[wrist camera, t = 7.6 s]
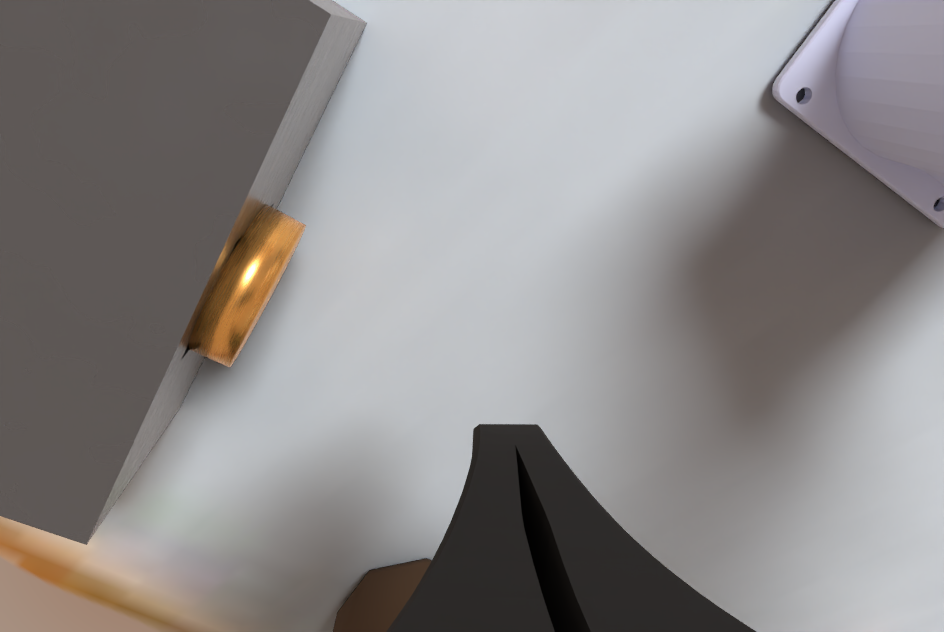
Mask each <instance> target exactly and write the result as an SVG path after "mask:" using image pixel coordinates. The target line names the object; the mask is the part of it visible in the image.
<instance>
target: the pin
mask: <svg viewBox="0 0 944 632" xmlns="http://www.w3.org/2000/svg"><path fill="white" fill-rule="evenodd" d="M305 227H306V225H304V224H303V223H301V222H299V221H297V220H295V219H293V218H291V217H289V216H287V215H286V214H284V213H282V212H280V211H278V210H276V209H274V208H272V207H271V206H269V205H267V206H265V207H264V208H263V209H262V210H261V211H260V212H259V214H258V215H257V216H256V217H255V219H254V220H253V221H252V223H251V224H250V226H249V227H248V229H247V230H246V232H245V233H244V235H243V236H242V237H241V238H240V239H239V240H238V241H237V242H236V244H235V246H234V248H233V250H232V252H231V254H230V257H229V259H228V261H227V263H226V265H225V267H224V268H223V270H222V272H221V274H220V276H219V278H218V279H217V281H216V283H215V285H214V287H213V289H212V291H211V293H210V295H209V297H208V299H207V301H206V303H205V305H204V307H203V309H202V311H201V313H200V316H199V318H198V320H197V322H196V325H195V327H194V330H193V332H192V335H191V338H190V341H189V347H188V348H189V350H191V351H194V352H196V353H198V354H200V355H203V356H205V357H207V358H209V359H212V360H214V361H216V362H218V363H221V364H223V365H225V366H228V367H231V365H232V364H233V363H234V361H235V360H236V358H237V356H238V355H239V353H240V351H241V350H242V348H243V346H244V345H245V343H246V341H247V339H248V338H249V336H250V334H251V332H252V331H253V329H254V327H255V325H256V323H257V322H258V320H259V318H260V316H261V314H262V313H263V311H264V309H265V307H266V305H267V303H268V302H269V300H270V298H271V296H272V294H273V292H274V290H275V288H276V287H277V285H278V283H279V281H280V279H281V277H282V275H283V273H284V271H285V269H286V267H287V265H288V263H289V261H290V259H291V257H292V255H293V253H294V251H295V249H296V247H297V245H298V243H299V241H300V239H301V237H302V235H303V232H304V230H305Z"/></svg>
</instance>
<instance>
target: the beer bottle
mask: <svg viewBox="0 0 944 632" xmlns="http://www.w3.org/2000/svg"><path fill="white" fill-rule="evenodd" d="M431 561H432V560H429V559H427V558H426V559H421V560H416V561H411V562H407V563H402V564H397V565H392V566H387V567H383V568H378V569H373V570H370V571H369V572H368V573H367V574H366V576H365V577H364V578H363V580H362V581H361V582H360V584H359V585H358V586H357V588H356V589H355V590H354V592H353V593H352V594H351V595H350V597H349V598H348V599H347V601H346V602H345V603H344V605H343V606H342V607H341V609H340V610H339V611H338V613H337V617H336V621H335V625H334V629H333V632H386V631H387V630H388V629H389V627H390V626H391V624H392V623H393V621H394V620H395V619H396V617H397V616H398V614H399V613H400V611H401V610H402V608H403V607H404V606H405V604H406V603H407V601H408V600H409V598H410V597H411V595H412V594H413V592H414V590H415V589H416V587H417V586H418V584H419V582H420V581H421V579H422V577H423V575H424V574H425V572H426V570H427V568H428V567H429V565H430V563H431Z"/></svg>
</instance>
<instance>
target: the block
mask: <svg viewBox="0 0 944 632" xmlns="http://www.w3.org/2000/svg"><path fill="white" fill-rule="evenodd" d="M366 24H367V23H366V22H365V21H363V20H362V19H360V18H359V17H357V16H355V15H354V14H352V13H351V12H349V11H348V10H346V9H345V8H343V7H342V6H340V5H339V4H337V3H336V2H334V1H332V0H0V516H2V517H5V518H8V519H11V520H14V521H17V522H20V523H23V524H26V525H29V526H32V527H35V528H38V529H41V530H44V531H47V532H50V533H53V534H56V535H59V536H62V537H65V538H68V539H71V540H74V541H77V542H80V543H83V544H86V545H87V543H88V542H89V540H90V539H91V537H92V536H93V534H94V533H95V531H96V530H97V529H98V527H99V526H100V524H101V523H102V521H103V520H104V518H105V517H106V515H107V514H108V512H109V511H110V510H111V508H112V507H113V505H114V504H115V502H116V501H117V499H118V498H119V496H120V495H121V493H122V492H123V491H124V489H125V488H126V486H127V485H128V483H129V482H130V480H131V479H132V477H133V476H134V474H135V473H136V471H137V470H138V469H139V467H140V466H141V464H142V463H143V461H144V460H145V458H146V457H147V455H148V454H149V452H150V451H151V450H152V448H153V447H154V445H155V444H156V442H157V441H158V439H159V438H160V436H161V435H162V433H163V432H164V430H165V429H166V428H167V426H168V425H169V423H170V422H171V420H172V419H173V417H174V416H175V414H176V413H177V411H178V410H179V409H180V407H181V405H182V403H183V401H184V399H185V397H186V395H187V393H188V391H189V388H190V386H191V384H192V382H193V380H194V378H195V376H196V374H197V372H198V370H199V368H200V366H201V364H202V362H203V360H204V358H205V356H203V355H200V354H198V353H196V352H194V351H191V350H189V348H188V347H189V341H190V338H191V335H192V332H193V330H194V327H195V325H196V322H197V320H198V318H199V316H200V313H201V311H202V309H203V307H204V305H205V303H206V301H207V299H208V297H209V295H210V293H211V291H212V289H213V287H214V285H215V283H216V281H217V279H218V278H219V276H220V274H221V272H222V270H223V268H224V267H225V265H226V263H227V261H228V259H229V257H230V254H231V252H232V250H233V248H234V246H235V244H236V242H237V241H238V240H239V239H240V238H241V237H242V236H243V235H244V233H245V232H246V230H247V229H248V227H249V226H250V224H251V223H252V221H253V220H254V219H255V217H256V216H257V215H258V214H259V212H260V211H261V210H262V209H263V208H264V207H265V206H267V205H269V206H271V207H272V208H274V209H277V207H278V205H279V203H280V201H281V199H282V197H283V195H284V193H285V191H286V189H287V186H288V184H289V182H290V180H291V178H292V176H293V174H294V172H295V170H296V168H297V166H298V164H299V162H300V160H301V158H302V156H303V154H304V151H305V149H306V147H307V145H308V143H309V141H310V139H311V137H312V135H313V133H314V131H315V129H316V127H317V125H318V123H319V121H320V118H321V116H322V114H323V112H324V110H325V108H326V106H327V104H328V102H329V100H330V98H331V96H332V94H333V92H334V90H335V88H336V86H337V83H338V81H339V79H340V77H341V75H342V73H343V71H344V69H345V67H346V65H347V63H348V61H349V59H350V57H351V55H352V53H353V50H354V48H355V46H356V44H357V42H358V40H359V38H360V36H361V34H362V32H363V30H364V28H365V26H366Z"/></svg>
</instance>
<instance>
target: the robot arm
mask: <svg viewBox="0 0 944 632" xmlns="http://www.w3.org/2000/svg"><path fill="white" fill-rule="evenodd" d="M802 88H804V90H805V96H804V98H803V100H802V101H800V102H799V103H798V102H797V101H796V95H797V93H798V91H799V90H800V89H802ZM772 92H773V96H774V98H775V99H776V100H777V101H778V102H779V103H781V104H782V105H783V106H784V107H786V108H787V109H788V110H790V111H791V112H792V113H794V114H795V115H796V116H797V117H799V118H800V119H801V120H803V121H804V122H805V123H806V124H808V125H809V126H810V127H812V128H813V129H814V130H815V131H817V132H818V133H819V134H821V135H822V136H823V137H825V138H826V139H827V140H828V141H830V142H831V143H832V144H834V145H835V146H836V147H837V148H839V149H840V150H841V151H843V152H844V153H845V154H846V155H848V156H849V157H850V158H852V159H853V160H854V161H855V162H857V163H858V164H859V165H861V166H862V167H863V168H865V169H866V170H867V171H868V172H870V173H871V174H872V175H874V176H875V177H876V178H877V179H879V180H880V181H881V182H883V183H884V184H885V185H886V186H888V187H889V188H890V189H892V190H893V191H894V192H895V193H897V194H898V195H899V196H901V197H902V198H903V199H905V200H906V201H907V202H908V203H910V204H911V205H912V206H914V207H915V208H916V209H917V210H919V211H920V212H921V213H923V214H924V215H925V216H926V217H928V218H929V219H930V220H932V221H933V222H934V223H936V224H937V225H938V226H939V227H941V228H944V0H835V1H834V3H833V4H832V5H831V7H830V8H829V9H828V11H827V12H826V13H825V15H824V16H823V17H822V18H821V20H820V21H819V22H818V24H817V25H816V26H815V28H814V29H813V30H812V32H811V33H810V34H809V36H808V37H807V38H806V40H805V41H804V42H803V44H802V45H801V46H800V48H799V49H798V50H797V52H796V53H795V54H794V55H793V57H792V58H791V59H790V61H789V62H788V63H787V65H786V66H785V67H784V69H783V70H782V71H781V73H780V74H779V75H778V77H777V78H776V80H775V82H774V84H773V88H772ZM939 198H940V201H939V203H938V205H937V206H936V207H934V203H935V202H936V200H938V199H939ZM386 632H756V631H754V630H753V629H751V628H750V627H748V626H747V625H745V624H744V623H742V622H741V621H739V620H737V619H736V618H734V617H733V616H731V615H730V614H728V613H727V612H725V611H724V610H722V609H721V608H719V607H718V606H717V605H715V604H714V603H712V602H711V601H709V600H708V599H707V598H705V597H704V596H702V595H701V594H700V593H698V592H697V591H696V590H694V589H693V588H692V587H690V586H689V585H688V584H687V583H685V582H684V581H683V580H681V579H680V578H679V577H678V576H676V575H675V574H674V573H672V572H671V571H670V570H669V569H667V568H666V567H665V566H664V565H663V564H661V563H660V562H659V561H658V560H656V559H655V558H654V557H653V556H652V555H651V554H650V553H649V552H647V551H646V550H645V549H644V548H643V547H642V546H641V545H640V544H639V543H637V542H636V541H635V540H634V539H633V538H632V537H631V536H630V535H629V534H628V533H627V532H626V531H625V530H624V529H623V528H622V527H621V526H620V525H619V524H618V523H617V522H616V521H615V520H614V519H613V518H612V517H611V516H610V514H609V513H608V512H607V511H606V510H605V509H604V508H603V507H602V506H601V505H600V504H599V503H598V501H597V500H596V499H595V498H594V497H593V496H592V495H591V493H590V492H589V491H588V490H587V489H586V487H585V486H584V485H583V484H582V483H581V481H580V480H579V479H578V478H577V477H576V475H575V474H574V473H573V472H572V470H571V469H570V468H569V466H568V465H567V464H566V462H565V461H564V460H563V459H562V457H561V456H560V455H559V453H558V452H557V450H556V449H555V448H554V446H553V445H552V444H551V442H550V441H549V439H548V438H547V436H546V435H545V434H544V432H543V431H542V429H541V428H540V427H539V426H538V425H518V424H479V425H478V426H477V427H475V428H474V431H473V449H472V460H471V465H470V469H469V472H468V475H467V479H466V482H465V485H464V489H463V492H462V495H461V497H460V500H459V502H458V505H457V508H456V510H455V513H454V515H453V518H452V520H451V523H450V525H449V527H448V529H447V531H446V534H445V536H444V538H443V540H442V542H441V544H440V546H439V548H438V550H437V552H436V554H435V556H434V558H433V560H432V561H431V563H430V565H429V567H428V568H427V570H426V572H425V574H424V575H423V577H422V579H421V581H420V582H419V584H418V586H417V587H416V589H415V590H414V592H413V594H412V595H411V597H410V598H409V600H408V601H407V603H406V604H405V606H404V607H403V608H402V610H401V611H400V613H399V614H398V616H397V617H396V619H395V620H394V621H393V623H392V624H391V626H390V627H389V629H388V630H387V631H386Z"/></svg>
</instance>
